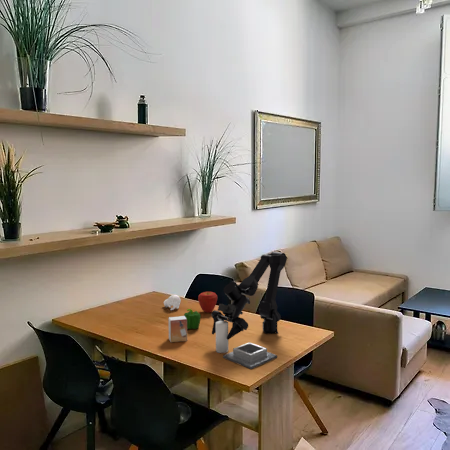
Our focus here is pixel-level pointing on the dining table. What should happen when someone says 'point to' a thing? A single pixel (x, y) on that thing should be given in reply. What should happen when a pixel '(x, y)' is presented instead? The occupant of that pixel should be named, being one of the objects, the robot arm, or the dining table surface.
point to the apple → (207, 301)
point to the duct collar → (250, 355)
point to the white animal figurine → (172, 302)
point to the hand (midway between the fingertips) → (219, 336)
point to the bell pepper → (192, 319)
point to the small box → (177, 329)
